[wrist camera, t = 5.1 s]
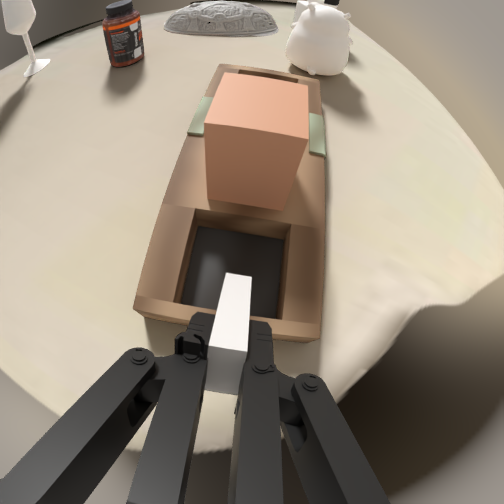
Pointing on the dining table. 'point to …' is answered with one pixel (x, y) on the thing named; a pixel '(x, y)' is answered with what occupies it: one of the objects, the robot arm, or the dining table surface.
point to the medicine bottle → (301, 6)
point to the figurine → (320, 40)
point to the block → (255, 139)
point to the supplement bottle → (123, 34)
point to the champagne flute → (22, 28)
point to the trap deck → (240, 236)
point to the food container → (221, 20)
